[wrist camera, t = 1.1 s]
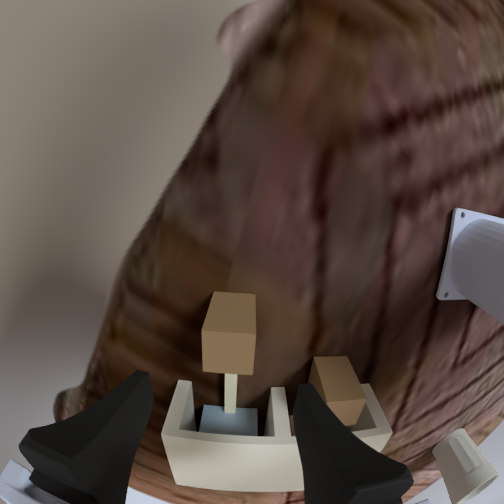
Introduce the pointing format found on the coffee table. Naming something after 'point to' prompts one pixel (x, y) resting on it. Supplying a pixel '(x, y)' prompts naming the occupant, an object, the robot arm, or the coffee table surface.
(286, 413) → the shelf
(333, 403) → the tan block
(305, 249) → the coffee table surface
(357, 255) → the coffee table surface
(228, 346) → the tan and blue dumbbell
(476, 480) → the cup
